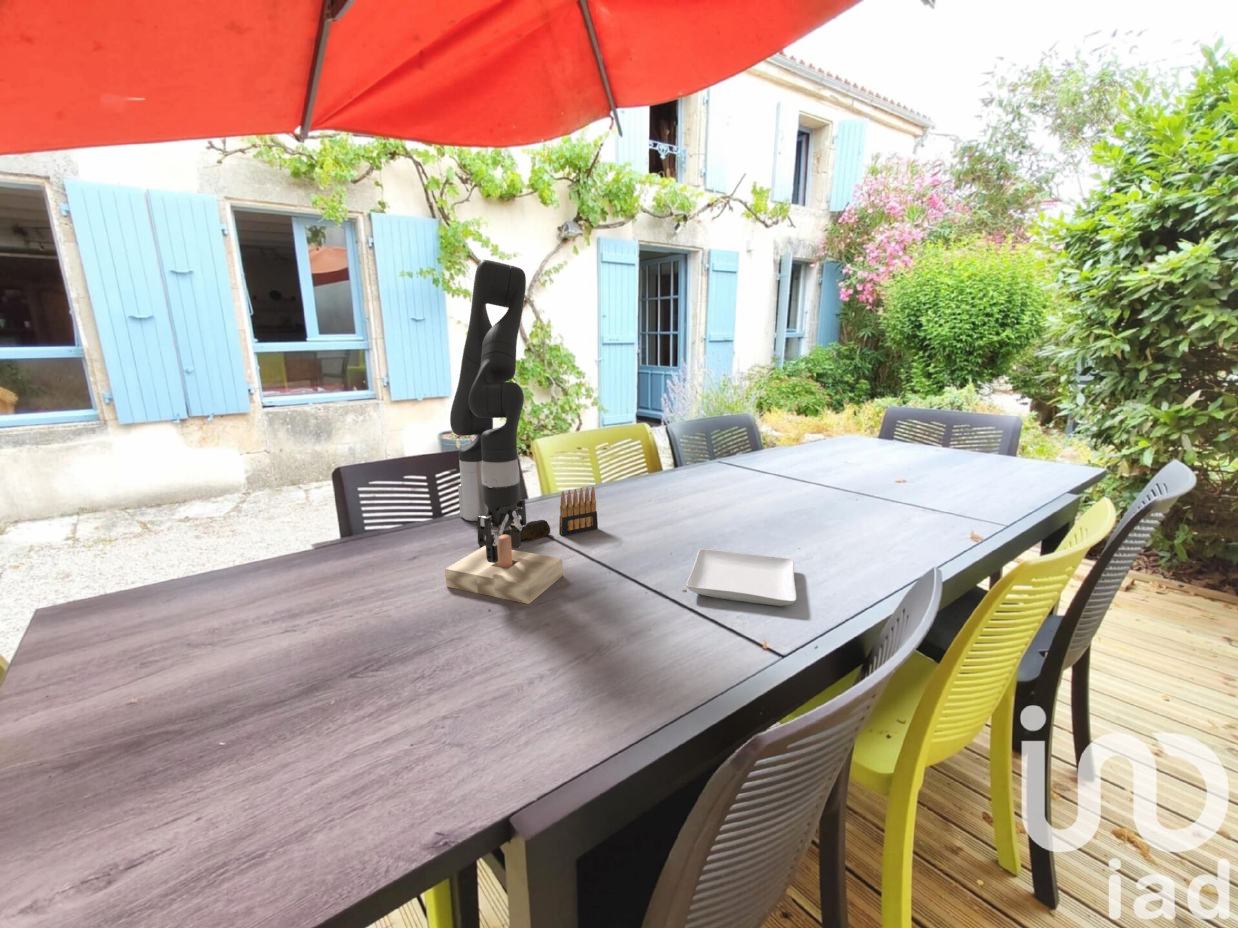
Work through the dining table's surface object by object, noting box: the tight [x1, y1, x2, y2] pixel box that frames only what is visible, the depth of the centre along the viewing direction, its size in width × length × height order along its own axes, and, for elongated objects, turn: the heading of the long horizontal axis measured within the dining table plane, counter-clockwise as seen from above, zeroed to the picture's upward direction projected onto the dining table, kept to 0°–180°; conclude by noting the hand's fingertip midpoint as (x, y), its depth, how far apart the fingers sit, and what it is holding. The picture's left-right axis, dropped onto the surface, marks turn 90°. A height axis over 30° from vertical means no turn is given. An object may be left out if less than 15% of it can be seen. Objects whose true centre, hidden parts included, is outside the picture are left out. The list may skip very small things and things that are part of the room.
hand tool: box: [478, 519, 551, 549], centre depth 138 cm, size 19×4×5 cm, turn 121°
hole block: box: [444, 546, 564, 605], centre depth 116 cm, size 20×14×4 cm
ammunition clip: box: [558, 485, 599, 537], centre depth 145 cm, size 11×2×12 cm, turn 121°
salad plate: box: [685, 548, 798, 607], centre depth 115 cm, size 21×21×3 cm
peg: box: [497, 535, 513, 569], centre depth 116 cm, size 3×3×10 cm
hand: (504, 554), depth 115 cm, fingers open, 8 cm apart
